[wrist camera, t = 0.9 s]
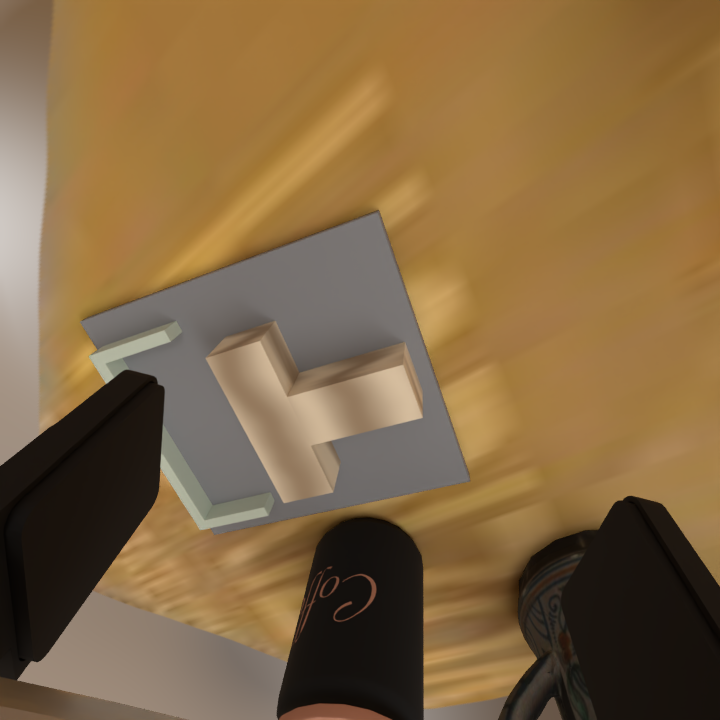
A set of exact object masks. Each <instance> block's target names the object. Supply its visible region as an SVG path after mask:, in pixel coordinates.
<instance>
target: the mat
mask: <svg viewBox="0 0 720 720" xmlns="http://www.w3.org/2000/svg"><path fill="white" fill-rule="evenodd" d="M273 321H276V323H277V325H278V327H279V330H280V332H281V334H282V336H283V338H284V340H285V342H286V345H287V347H288V349H289V351H290V353H291V355H292V358H293V360H294V362H295V364H296V366H297V368H298V371H299V373H300V372H303V371H307V370H310V369H314V368H317V367H321V366H324V365H327V364H331V363H334V362H338V361H341V360H345V359H348V358H351V357H355V356H358V355H362V354H365V353H368V352H372V351H375V350H379V349H382V348H386V347H389V346H392V345H396V344H399V343H403V342H405V343H406V346H407V349H408V352H409V354H410V357H411V360H412V363H413V366H414V368H415V371H416V374H417V377H418V380H419V382H420V385H421V388H422V391H423V418H420V419H416V420H412V421H408V422H404V423H400V424H396V425H392V426H388V427H384V428H380V429H376V430H372V431H368V432H364V433H360V434H356V435H352V436H348V437H344V438H340V439H336V440H332V441H331V442H332V444H333V446H334V448H335V450H336V453H337V455H338V457H339V459H340V461H341V463H340V467H339V471H338V475H337V479H336V483H335V487H334V492H333V493H328V494H324V495H319V496H314V497H310V498H305V499H301V500H296V501H292V502H287V503H283V501H282V499H281V497H280V495H279V493H278V492H277V490H276V488H275V486H274V484H273V482H272V480H271V479H270V477H269V475H268V473H267V471H266V469H265V468H264V466H263V464H262V462H261V460H260V458H259V456H258V455H257V453H256V451H255V449H254V447H253V445H252V443H251V442H250V440H249V438H248V436H247V434H246V432H245V431H244V429H243V427H242V425H241V423H240V421H239V419H238V418H237V416H236V414H235V412H234V410H233V408H232V406H231V405H230V403H229V401H228V399H227V397H226V395H225V394H224V392H223V390H222V388H221V386H220V384H219V382H218V381H217V379H216V377H215V375H214V373H213V371H212V369H211V368H210V366H209V364H208V362H207V360H206V357H207V356H208V355H209V354H210V353H211V352H212V351H213V350H214V349H215V347H216V346H217V345H218V344H219V343H220V342H221V341H222V340H223V339H224V338H225V337H227V336H230V335H233V334H236V333H239V332H242V331H245V330H248V329H251V328H254V327H257V326H260V325H263V324H266V323H270V322H273ZM80 323H81V324H82V326H83V327H84V329H85V331H86V332H87V334H88V335H89V337H90V339H91V340H92V342H93V343H94V345H95V346H96V348H97V351H95V352H94V353H92V354H91V355H90V356H89V358H90V359H91V361H92V362H93V364H94V365H95V367H96V369H97V370H98V372H99V373H100V375H101V376H102V378H103V379H104V381H105V383H106V384H107V383H108V382H109V381H111V380H112V379H113V378H114V377H116V376H117V375H118V374H119V373H121V372H122V371H124V370H132V371H136V372H140V373H144V374H148V375H152V376H155V377H156V378H157V381H158V385H162V386H163V387H164V389H165V400H164V416H163V432H162V448H161V465H160V468H161V470H162V471H163V473H164V474H165V476H166V477H167V479H168V481H169V482H170V484H171V485H172V487H173V488H174V490H175V491H176V493H177V495H178V496H179V498H180V499H181V501H182V502H183V504H184V505H185V507H186V509H187V510H188V512H189V513H190V515H191V516H192V518H193V519H194V521H195V523H196V524H197V526H198V527H199V529H200V530H204V529H208V528H210V529H211V530H212V532H213V533H214V535H216V534H221V533H226V532H230V531H235V530H240V529H245V528H249V527H254V526H259V525H264V524H269V523H273V522H278V521H283V520H288V519H292V518H297V517H302V516H307V515H312V514H316V513H321V512H326V511H331V510H335V509H340V508H345V507H350V506H355V505H359V504H364V503H369V502H374V501H379V500H383V499H388V498H393V497H398V496H402V495H407V494H412V493H417V492H422V491H426V490H431V489H436V488H441V487H445V486H450V485H455V484H460V483H465V482H469V481H470V477H469V472H468V469H467V466H466V463H465V460H464V457H463V454H462V452H461V449H460V446H459V443H458V440H457V437H456V434H455V431H454V428H453V425H452V422H451V419H450V416H449V414H448V411H447V408H446V405H445V402H444V399H443V396H442V393H441V390H440V387H439V384H438V381H437V378H436V376H435V373H434V370H433V367H432V364H431V361H430V358H429V355H428V352H427V349H426V346H425V343H424V340H423V338H422V335H421V332H420V329H419V326H418V323H417V320H416V317H415V314H414V311H413V308H412V305H411V302H410V300H409V297H408V294H407V291H406V288H405V285H404V282H403V279H402V276H401V273H400V270H399V267H398V264H397V262H396V259H395V256H394V253H393V250H392V247H391V244H390V241H389V238H388V235H387V232H386V229H385V226H384V223H383V221H382V218H381V215H380V212H379V210H378V211H375V212H372V213H370V214H367V215H364V216H361V217H359V218H356V219H353V220H351V221H348V222H345V223H343V224H340V225H337V226H334V227H332V228H329V229H326V230H324V231H321V232H318V233H315V234H313V235H310V236H307V237H305V238H302V239H299V240H296V241H294V242H291V243H288V244H286V245H283V246H280V247H277V248H275V249H272V250H269V251H267V252H264V253H261V254H258V255H256V256H253V257H250V258H248V259H245V260H242V261H239V262H237V263H234V264H231V265H229V266H226V267H223V268H220V269H218V270H215V271H212V272H210V273H207V274H204V275H202V276H199V277H196V278H193V279H191V280H188V281H185V282H183V283H180V284H177V285H174V286H172V287H169V288H166V289H164V290H161V291H158V292H155V293H153V294H150V295H147V296H145V297H142V298H139V299H136V300H134V301H131V302H128V303H126V304H123V305H120V306H117V307H115V308H112V309H109V310H107V311H104V312H101V313H98V314H96V315H93V316H90V317H88V318H86V319H84V320H82V321H81V322H80Z"/></svg>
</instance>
